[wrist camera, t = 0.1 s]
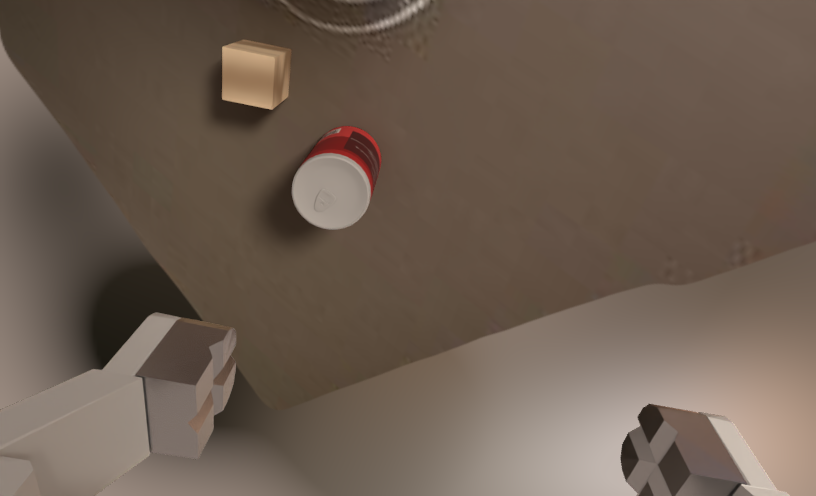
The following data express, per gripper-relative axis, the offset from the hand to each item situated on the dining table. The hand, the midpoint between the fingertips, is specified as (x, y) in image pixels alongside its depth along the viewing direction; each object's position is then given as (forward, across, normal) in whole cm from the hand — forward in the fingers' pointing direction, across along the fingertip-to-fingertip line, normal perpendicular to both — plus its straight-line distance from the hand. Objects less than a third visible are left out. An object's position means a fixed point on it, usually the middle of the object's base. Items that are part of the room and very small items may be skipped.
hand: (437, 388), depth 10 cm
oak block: (+48, +18, +5) cm, 52 cm away
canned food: (+48, +8, +13) cm, 51 cm away
